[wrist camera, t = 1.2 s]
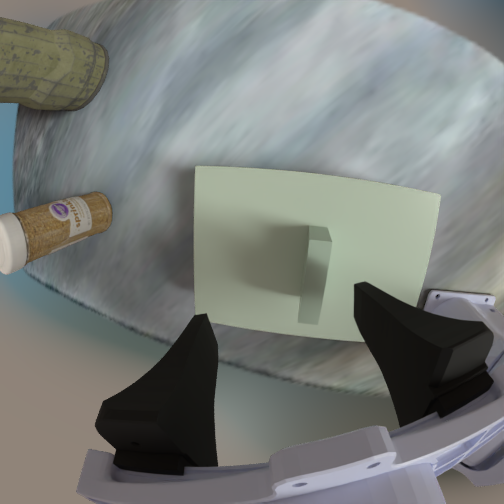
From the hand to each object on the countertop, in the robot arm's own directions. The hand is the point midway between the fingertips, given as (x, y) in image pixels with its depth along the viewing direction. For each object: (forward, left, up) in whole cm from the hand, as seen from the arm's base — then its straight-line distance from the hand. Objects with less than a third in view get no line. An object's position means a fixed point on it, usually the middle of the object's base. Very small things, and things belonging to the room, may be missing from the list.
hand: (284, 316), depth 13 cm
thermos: (+25, -18, -11) cm, 32 cm away
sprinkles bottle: (+21, -2, -11) cm, 24 cm away
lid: (-1, -1, -8) cm, 8 cm away
